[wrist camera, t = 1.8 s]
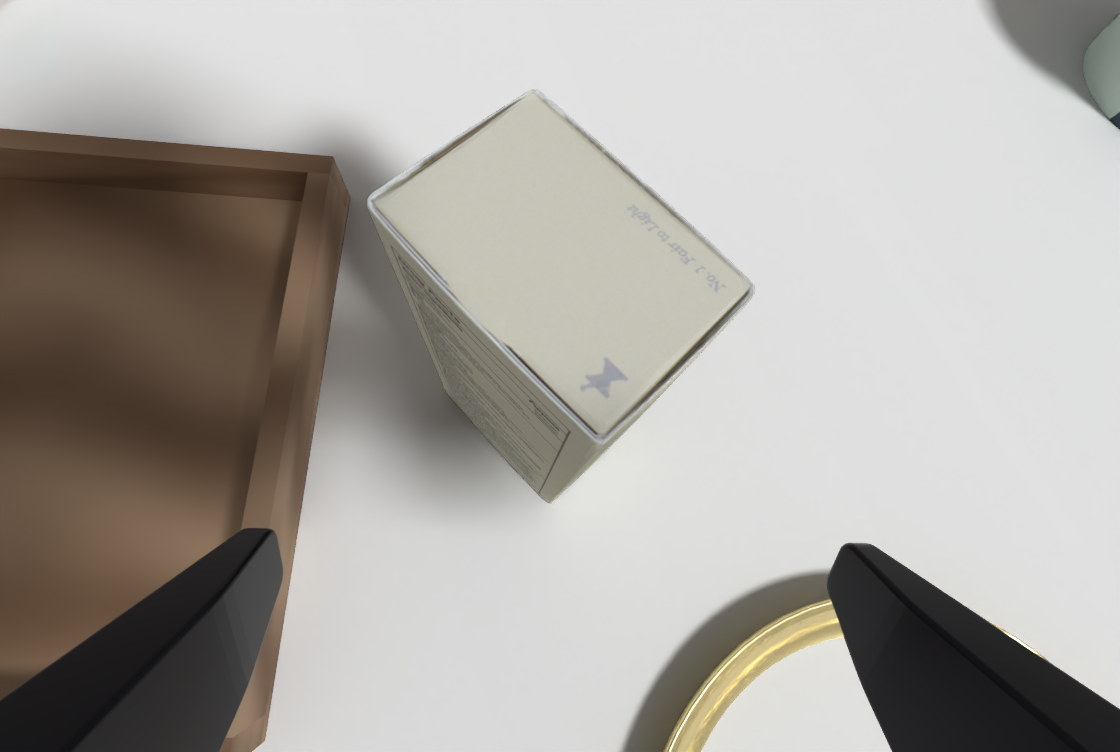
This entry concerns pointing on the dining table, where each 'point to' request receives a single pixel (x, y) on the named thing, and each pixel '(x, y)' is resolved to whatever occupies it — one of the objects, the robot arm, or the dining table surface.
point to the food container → (1105, 70)
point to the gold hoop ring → (753, 669)
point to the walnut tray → (153, 375)
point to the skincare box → (550, 285)
